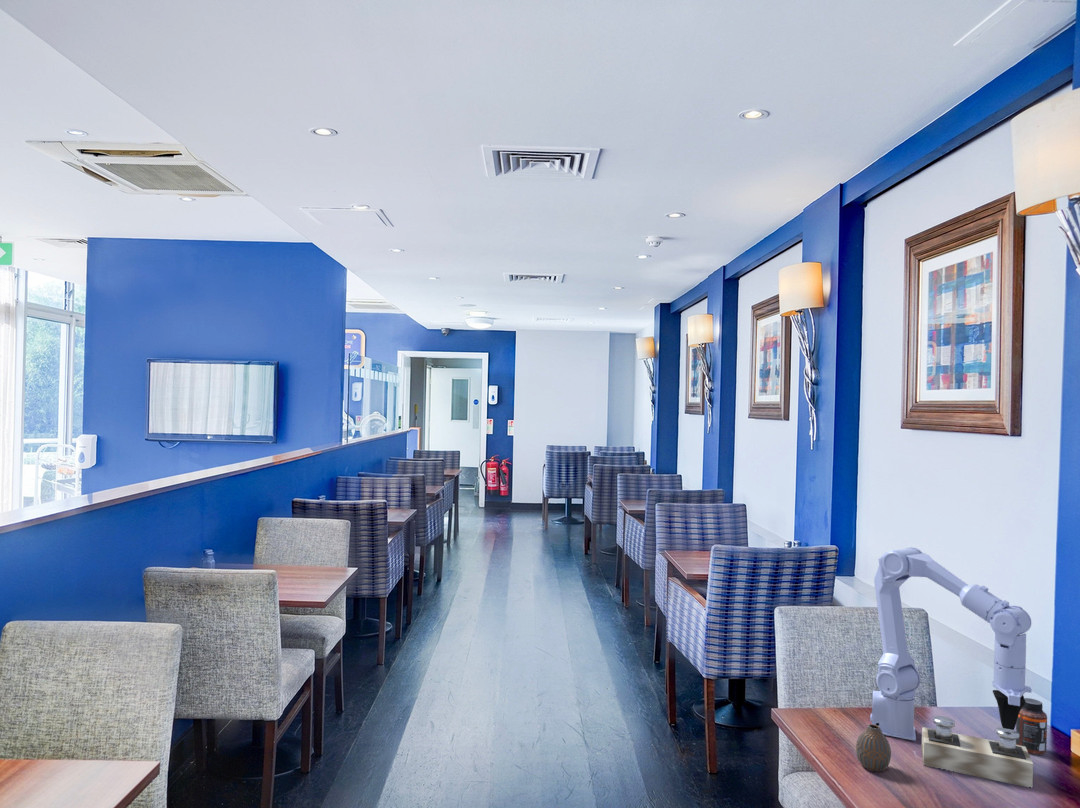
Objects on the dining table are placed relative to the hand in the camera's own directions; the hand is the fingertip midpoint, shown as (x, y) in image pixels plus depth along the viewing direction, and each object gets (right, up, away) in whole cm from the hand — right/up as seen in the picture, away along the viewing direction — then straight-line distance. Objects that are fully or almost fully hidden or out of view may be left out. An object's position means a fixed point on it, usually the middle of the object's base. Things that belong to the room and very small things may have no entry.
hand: (1007, 727), depth 158 cm
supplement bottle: (+13, -11, +12) cm, 21 cm away
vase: (-29, -9, +1) cm, 30 cm away
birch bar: (-6, -10, +2) cm, 12 cm away
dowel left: (-11, -5, +5) cm, 13 cm away
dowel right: (0, -6, 0) cm, 6 cm away
